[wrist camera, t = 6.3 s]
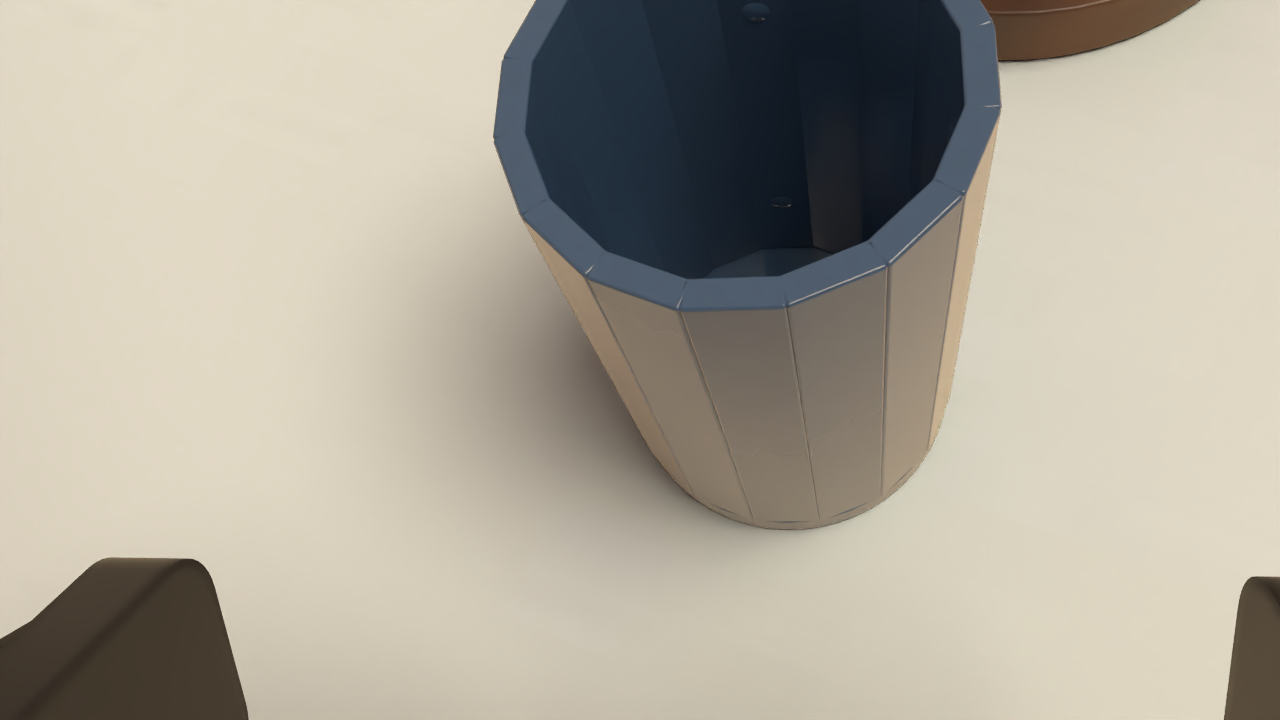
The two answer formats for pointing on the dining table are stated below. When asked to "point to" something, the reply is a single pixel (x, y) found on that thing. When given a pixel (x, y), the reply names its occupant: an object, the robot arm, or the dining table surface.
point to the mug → (761, 227)
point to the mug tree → (1072, 24)
